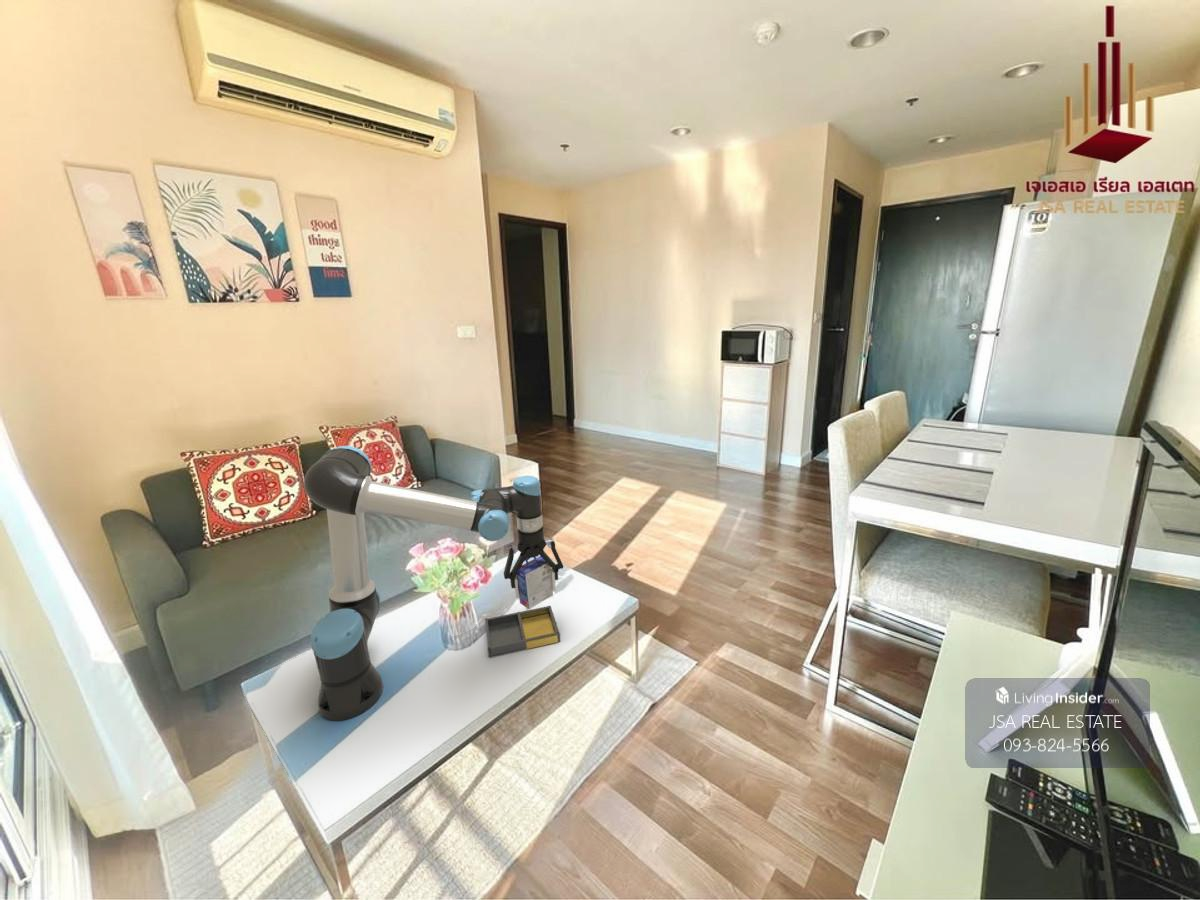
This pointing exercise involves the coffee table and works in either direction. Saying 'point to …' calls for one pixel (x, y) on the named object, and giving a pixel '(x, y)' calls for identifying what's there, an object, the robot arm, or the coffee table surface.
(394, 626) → the coffee table surface
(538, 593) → the ink cartridge box
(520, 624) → the tray
